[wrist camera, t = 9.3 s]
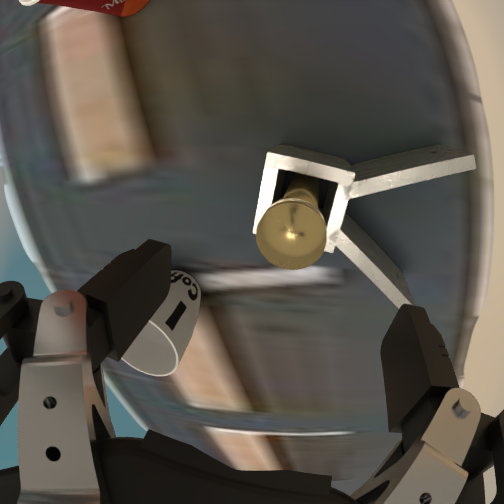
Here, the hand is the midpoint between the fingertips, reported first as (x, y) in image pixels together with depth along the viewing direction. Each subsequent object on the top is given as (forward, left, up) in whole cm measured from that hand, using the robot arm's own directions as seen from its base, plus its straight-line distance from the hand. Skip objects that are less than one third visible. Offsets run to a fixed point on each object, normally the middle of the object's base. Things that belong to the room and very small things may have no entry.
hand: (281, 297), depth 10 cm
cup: (+15, -11, -18) cm, 26 cm away
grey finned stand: (0, +4, -18) cm, 19 cm away
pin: (0, 0, -18) cm, 18 cm away
